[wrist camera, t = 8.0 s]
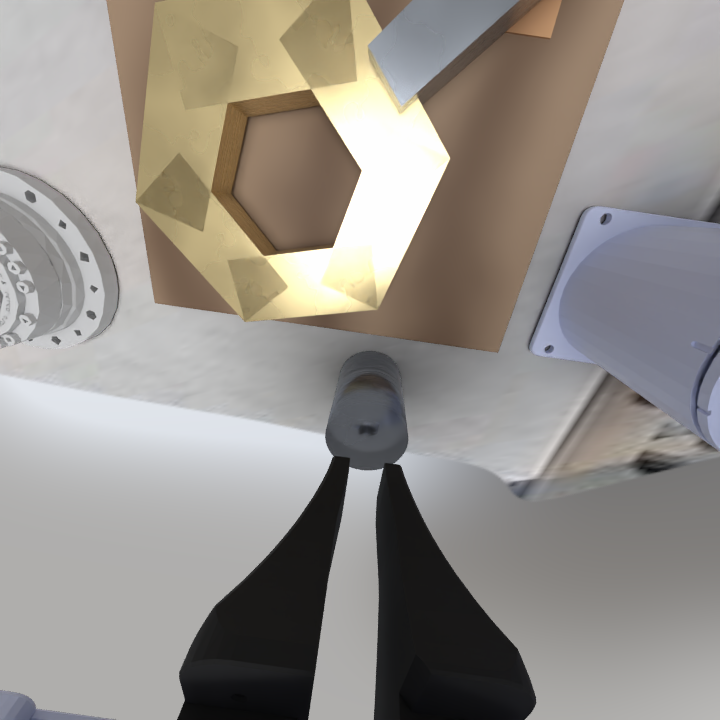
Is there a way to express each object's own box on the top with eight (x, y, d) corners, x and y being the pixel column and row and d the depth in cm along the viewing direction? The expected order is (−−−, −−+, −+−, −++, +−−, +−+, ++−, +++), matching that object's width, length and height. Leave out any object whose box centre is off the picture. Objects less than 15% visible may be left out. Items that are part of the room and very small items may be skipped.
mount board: (623, -33, 12) (645, -55, 11) (492, 345, 19) (498, 353, 18) (106, -111, 12) (82, -140, 11) (165, 298, 19) (153, 303, 18)
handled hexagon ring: (298, 354, 19) (283, 379, 16) (106, 137, 14) (42, 120, 12) (661, 100, 13) (738, 70, 10) (518, -400, 8) (585, -690, 6)
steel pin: (406, 356, 20) (416, 411, 14) (394, 408, 21) (399, 475, 16) (343, 346, 20) (329, 398, 14) (336, 400, 21) (322, 464, 16)
